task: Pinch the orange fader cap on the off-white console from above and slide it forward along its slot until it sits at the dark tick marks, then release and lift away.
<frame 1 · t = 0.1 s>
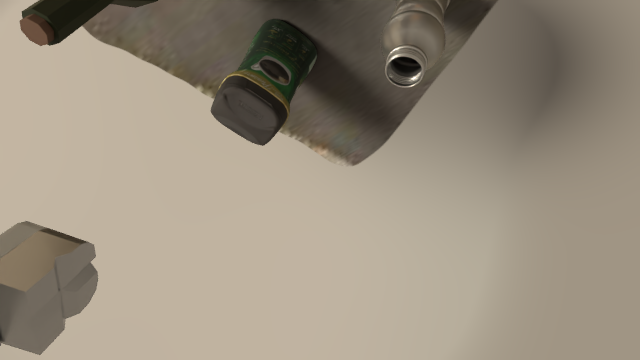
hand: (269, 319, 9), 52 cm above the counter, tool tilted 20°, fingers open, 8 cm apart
coffee jar: (288, 46, 65), on the counter
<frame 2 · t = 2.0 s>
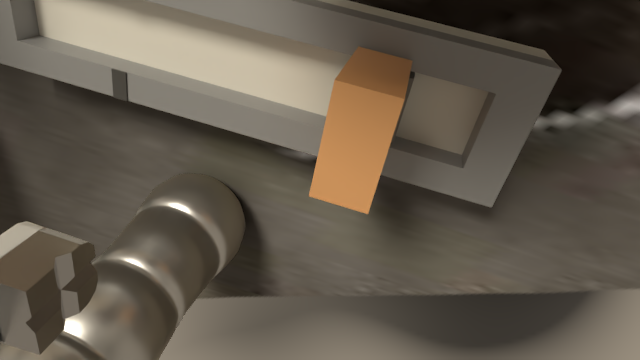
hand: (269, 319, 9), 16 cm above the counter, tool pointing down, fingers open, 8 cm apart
fader knob: (365, 118, 18), point 5 cm above the counter, slide at -7.0 cm
console: (256, 47, 23), on the counter
silver ridged bottle: (212, 202, 30), on the counter
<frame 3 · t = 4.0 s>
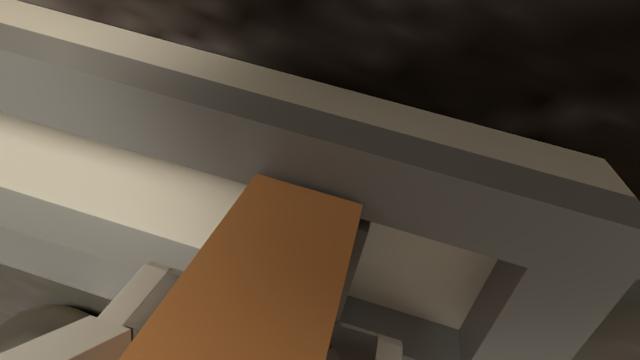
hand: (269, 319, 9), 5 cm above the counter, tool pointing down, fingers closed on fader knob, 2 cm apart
fader knob: (269, 323, 9), point 5 cm above the counter, slide at -7.0 cm, touching gripper
console: (119, 134, 14), on the counter
silver ridged bottle: (94, 335, 20), on the counter
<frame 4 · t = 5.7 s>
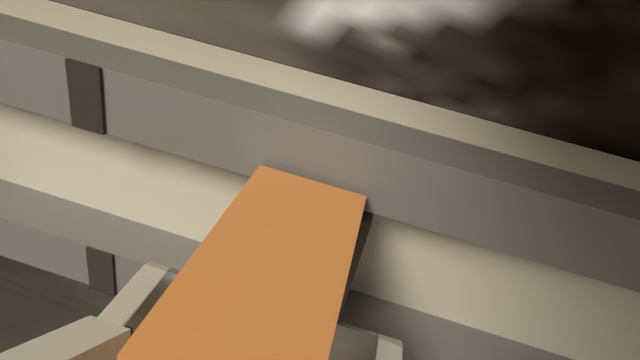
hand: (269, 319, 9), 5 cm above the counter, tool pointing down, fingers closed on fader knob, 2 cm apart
fader knob: (272, 314, 9), point 5 cm above the counter, slide at 0.6 cm, touching gripper
console: (342, 193, 13), on the counter
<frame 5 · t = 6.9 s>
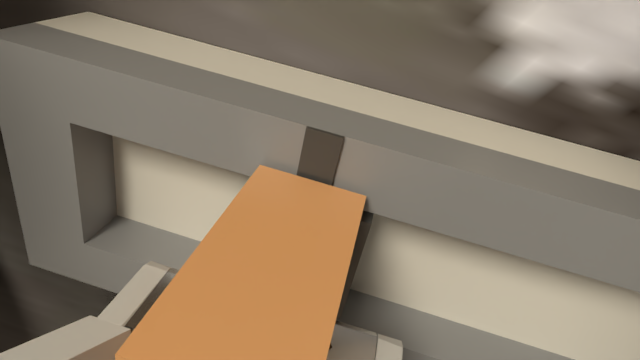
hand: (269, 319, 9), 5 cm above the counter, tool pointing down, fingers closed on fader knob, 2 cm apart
fader knob: (272, 314, 9), point 5 cm above the counter, slide at 6.0 cm, touching gripper
console: (514, 243, 13), on the counter
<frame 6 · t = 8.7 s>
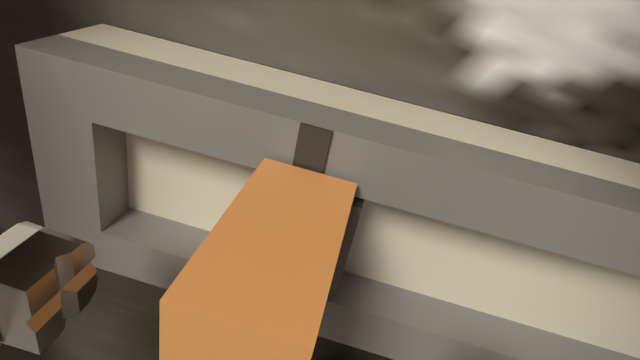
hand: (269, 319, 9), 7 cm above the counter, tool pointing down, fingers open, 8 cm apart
fader knob: (276, 286, 10), point 5 cm above the counter, slide at 5.9 cm
console: (487, 227, 14), on the counter
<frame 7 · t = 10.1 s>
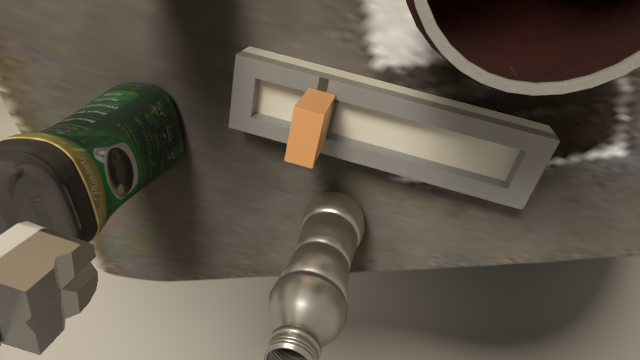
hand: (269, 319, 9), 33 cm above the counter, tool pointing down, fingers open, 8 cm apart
fader knob: (312, 123, 36), point 5 cm above the counter, slide at 5.9 cm
console: (384, 119, 40), on the counter
coffee jar: (152, 123, 46), on the counter
silver ridged bottle: (338, 209, 47), on the counter
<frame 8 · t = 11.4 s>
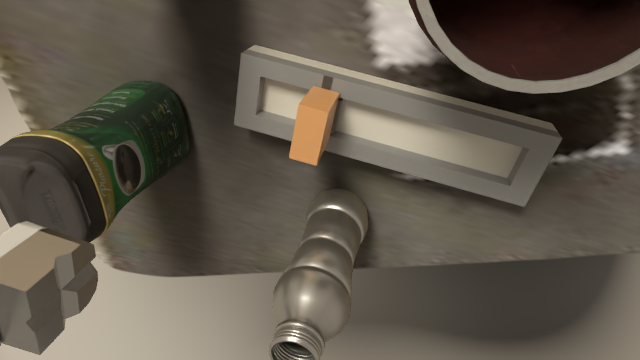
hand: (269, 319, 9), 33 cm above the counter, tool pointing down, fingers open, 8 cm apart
fader knob: (316, 121, 37), point 5 cm above the counter, slide at 5.9 cm
console: (388, 117, 41), on the counter
coffee jar: (158, 121, 47), on the counter
silver ridged bottle: (342, 206, 47), on the counter
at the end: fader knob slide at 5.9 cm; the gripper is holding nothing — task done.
